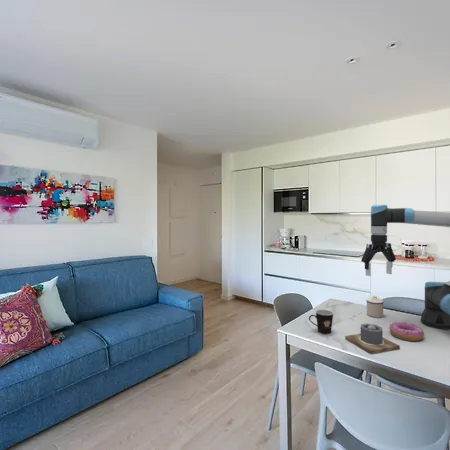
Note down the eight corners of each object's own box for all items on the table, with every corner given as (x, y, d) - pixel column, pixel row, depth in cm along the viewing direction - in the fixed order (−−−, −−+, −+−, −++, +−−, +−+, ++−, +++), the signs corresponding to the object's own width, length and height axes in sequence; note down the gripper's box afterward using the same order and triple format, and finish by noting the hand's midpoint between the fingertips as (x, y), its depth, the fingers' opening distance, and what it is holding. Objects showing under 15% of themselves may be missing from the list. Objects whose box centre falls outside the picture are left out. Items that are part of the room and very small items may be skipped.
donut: (407, 344, 132) (407, 333, 132) (382, 332, 146) (383, 322, 146) (431, 340, 136) (431, 330, 136) (405, 329, 150) (405, 319, 150)
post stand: (372, 334, 143) (372, 317, 143) (399, 348, 128) (399, 329, 127) (345, 339, 138) (345, 321, 138) (370, 354, 123) (370, 334, 123)
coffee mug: (333, 329, 150) (333, 310, 150) (332, 335, 142) (332, 316, 142) (311, 326, 155) (311, 308, 155) (308, 332, 147) (308, 313, 147)
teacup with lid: (386, 317, 166) (387, 298, 166) (372, 318, 165) (372, 298, 165) (374, 310, 178) (374, 292, 177) (360, 311, 177) (360, 293, 177)
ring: (371, 335, 139) (371, 322, 138) (387, 342, 130) (387, 330, 130) (356, 337, 136) (356, 325, 136) (371, 345, 127) (371, 332, 127)
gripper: (364, 235, 142) (364, 277, 142) (403, 234, 149) (403, 274, 149) (353, 234, 149) (353, 275, 149) (391, 233, 156) (391, 271, 156)
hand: (378, 274), depth 149 cm, fingers open, 13 cm apart
